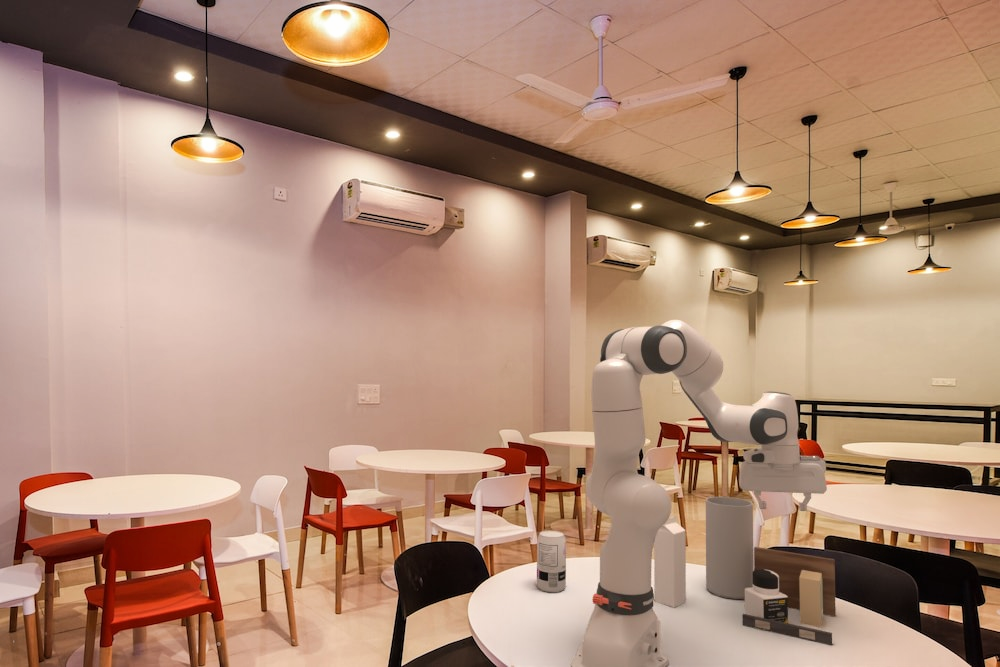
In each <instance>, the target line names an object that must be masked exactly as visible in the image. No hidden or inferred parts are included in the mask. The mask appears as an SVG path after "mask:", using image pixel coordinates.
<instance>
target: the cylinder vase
mask: <svg viewBox="0 0 1000 667" xmlns="http://www.w3.org/2000/svg"><path fill="white" fill-rule="evenodd" d="M753 571H754V502H752V501H750V500H747V499H744V498H743V499H742V498H738V497H731V496H711V497H707V498H705V577H706V578H705V587H706V589H707V590H708V591H709V592H710V593H711V594H713V595H715V596H718V597H721V598H725V599H732V600H745V588H752V587H753V576H752V573H753Z"/></svg>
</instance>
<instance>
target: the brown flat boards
mask: <svg viewBox="0 0 1000 667" xmlns="http://www.w3.org/2000/svg"><path fill="white" fill-rule="evenodd" d="M753 561H754V571H755V570H758V569H765V570H770V571H773V572H775V573H776V574H778V576H779V592H781V593H783V594H785V595H787V597H788V609H789V608H790V609H795V610H799V611H800V585H799V577H800V574H801V571H802V570H806V571H812V572H818V573H822V584H823V614H824V615H823V616H828V615H830V616H829V617H833V616H837V614H836V613H837V612H836V610H837V609H836V608H837V606H836V571H835V570H836V567H835V566H836V564H835V562H836V561H835V559H834V558H828V557H822V556H818V555H817V556H816V555H811V554H803V553H796V552H791V551H790V552H789V551H784V550H778V549H772V548H766V547H760V546H753ZM742 626H744V627H745V626H746V627H749V628H754V629H759V630H762V631H767V632H772V633H776V634H780V635H785V636H789V637H794V638H798V639H802V640H806V641H812V642H816V643H820V644H825V645H829V646H833V633H832V632H831V631H826V630H820V629H817V628H816V629H815V628H811V627H808V626H803V625H802V626H801V625H797V624H794V623H789V622H788V623H784V622H780V621H775V620H770V619H766V618H761V617H756V616H752V615H747V614H745V613H742Z"/></svg>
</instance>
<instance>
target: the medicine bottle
mask: <svg viewBox="0 0 1000 667" xmlns="http://www.w3.org/2000/svg"><path fill="white" fill-rule="evenodd" d="M752 576H753V587H752V588H745V599H744V614H747V615H752V616H756V617H761V618H766V619H770V620H775V621H780V622H784V623H789V610H788V609H789V608H788V597H787V595H785V594H783V593H781V592H779V576H778V574H776V573H775V572H773V571H770V570H765V569H758V570H755V571H753V573H752Z"/></svg>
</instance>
